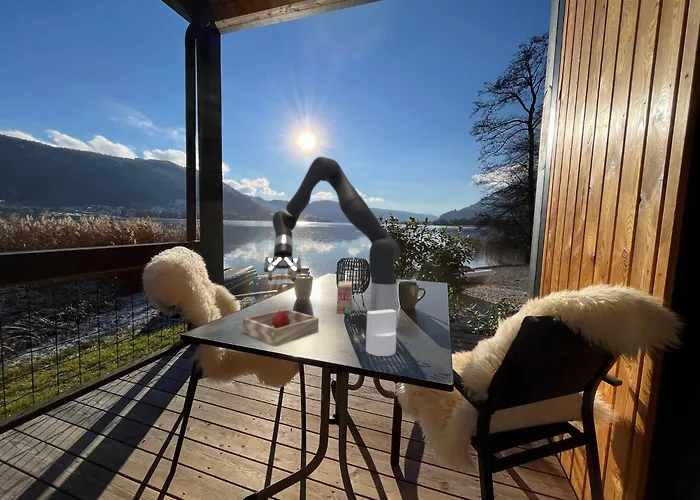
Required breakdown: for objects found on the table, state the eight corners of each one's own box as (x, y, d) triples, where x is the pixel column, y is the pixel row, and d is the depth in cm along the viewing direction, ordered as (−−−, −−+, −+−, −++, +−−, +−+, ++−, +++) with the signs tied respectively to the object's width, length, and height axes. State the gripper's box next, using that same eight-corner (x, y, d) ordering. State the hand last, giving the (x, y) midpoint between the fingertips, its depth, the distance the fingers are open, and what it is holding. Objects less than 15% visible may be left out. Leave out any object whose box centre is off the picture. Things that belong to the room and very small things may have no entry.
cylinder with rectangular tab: (374, 358, 86) (375, 316, 85) (360, 347, 94) (361, 309, 93) (401, 354, 89) (402, 314, 89) (386, 343, 98) (387, 306, 97)
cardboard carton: (339, 302, 153) (339, 278, 152) (351, 302, 153) (352, 278, 152) (336, 313, 132) (337, 285, 131) (351, 314, 132) (351, 286, 131)
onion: (283, 328, 110) (284, 306, 109) (292, 332, 106) (293, 310, 105) (269, 331, 106) (269, 309, 105) (278, 336, 102) (278, 312, 101)
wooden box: (318, 331, 107) (318, 317, 107) (275, 346, 93) (276, 330, 93) (285, 321, 119) (285, 308, 118) (242, 332, 104) (242, 318, 104)
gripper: (265, 241, 123) (262, 274, 112) (301, 242, 125) (301, 274, 115) (266, 253, 128) (263, 285, 118) (300, 254, 131) (300, 285, 121)
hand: (282, 279), depth 116 cm, fingers open, 8 cm apart
